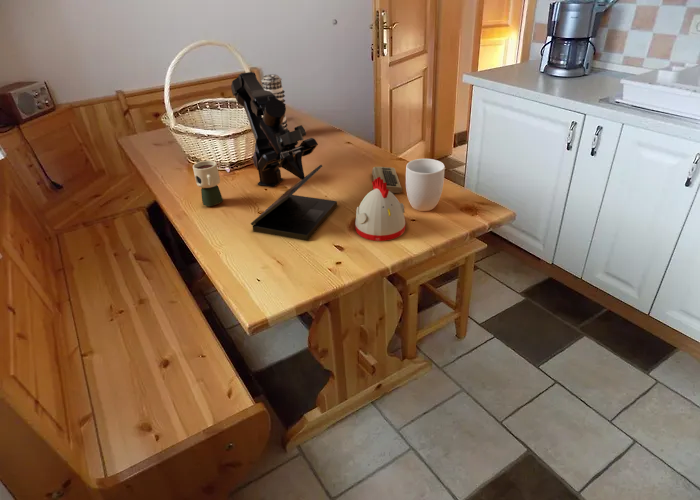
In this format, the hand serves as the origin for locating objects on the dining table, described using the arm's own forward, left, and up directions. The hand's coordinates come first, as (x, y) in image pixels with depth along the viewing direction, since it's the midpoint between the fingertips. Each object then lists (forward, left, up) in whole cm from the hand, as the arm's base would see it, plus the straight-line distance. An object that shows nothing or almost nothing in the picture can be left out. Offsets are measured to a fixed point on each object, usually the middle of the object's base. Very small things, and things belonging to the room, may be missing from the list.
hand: (303, 178), depth 138 cm
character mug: (-30, -5, -10) cm, 32 cm away
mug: (+33, +13, -10) cm, 37 cm away
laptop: (0, -6, -10) cm, 12 cm away
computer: (+18, +24, -10) cm, 31 cm away
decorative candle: (-39, +55, -10) cm, 68 cm away
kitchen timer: (+25, -4, -10) cm, 27 cm away
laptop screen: (-2, -6, -3) cm, 7 cm away
